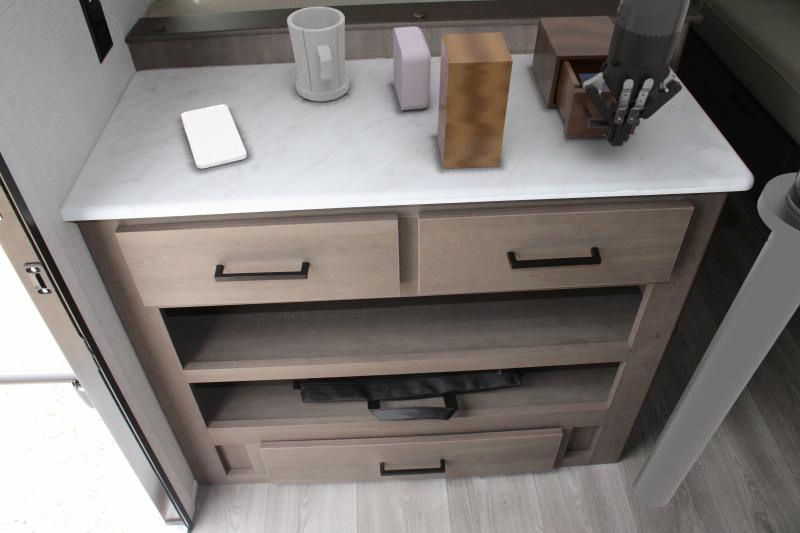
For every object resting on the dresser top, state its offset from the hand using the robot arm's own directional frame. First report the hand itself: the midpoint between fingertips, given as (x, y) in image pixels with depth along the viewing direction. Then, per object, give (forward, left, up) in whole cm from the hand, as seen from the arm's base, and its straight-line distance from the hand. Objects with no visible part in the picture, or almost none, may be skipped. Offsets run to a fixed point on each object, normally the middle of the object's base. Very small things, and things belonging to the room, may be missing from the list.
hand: (614, 142), depth 87 cm
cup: (+47, +5, -4) cm, 47 cm away
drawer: (+6, -8, -3) cm, 11 cm away
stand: (+19, +8, -4) cm, 20 cm away
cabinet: (+13, -18, -4) cm, 22 cm away
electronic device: (+34, -1, -4) cm, 34 cm away
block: (+6, -10, -2) cm, 12 cm away
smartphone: (+52, +25, -4) cm, 58 cm away
